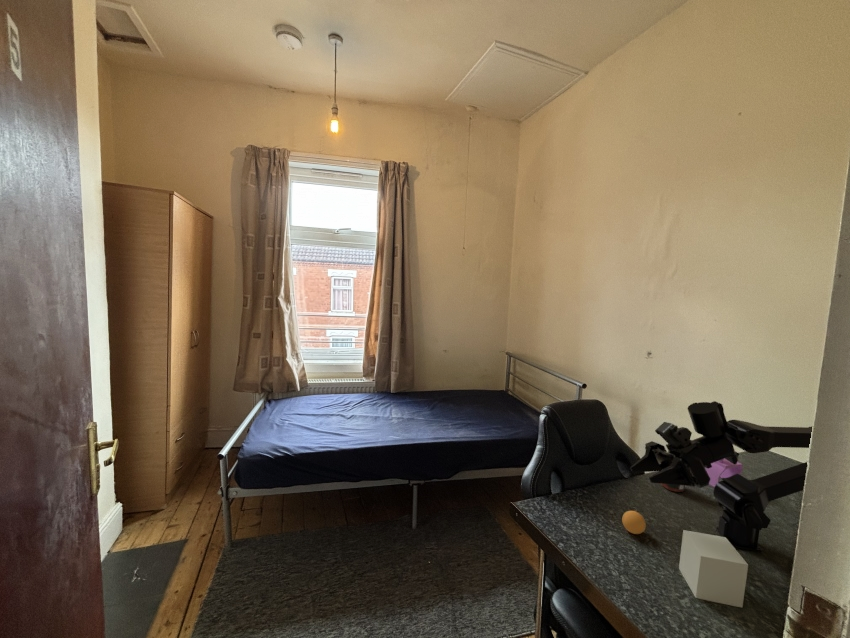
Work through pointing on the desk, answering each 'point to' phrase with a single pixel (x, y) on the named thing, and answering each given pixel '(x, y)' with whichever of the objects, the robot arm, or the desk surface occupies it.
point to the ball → (633, 522)
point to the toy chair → (722, 470)
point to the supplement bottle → (674, 486)
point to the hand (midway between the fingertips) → (640, 474)
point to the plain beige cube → (713, 568)
